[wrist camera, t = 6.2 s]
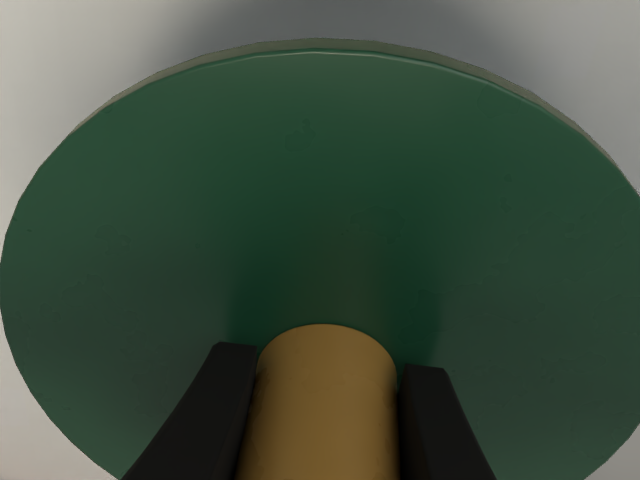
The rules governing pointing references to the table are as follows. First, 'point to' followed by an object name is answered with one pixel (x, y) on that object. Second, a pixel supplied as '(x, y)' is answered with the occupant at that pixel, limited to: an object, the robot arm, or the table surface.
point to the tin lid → (331, 262)
